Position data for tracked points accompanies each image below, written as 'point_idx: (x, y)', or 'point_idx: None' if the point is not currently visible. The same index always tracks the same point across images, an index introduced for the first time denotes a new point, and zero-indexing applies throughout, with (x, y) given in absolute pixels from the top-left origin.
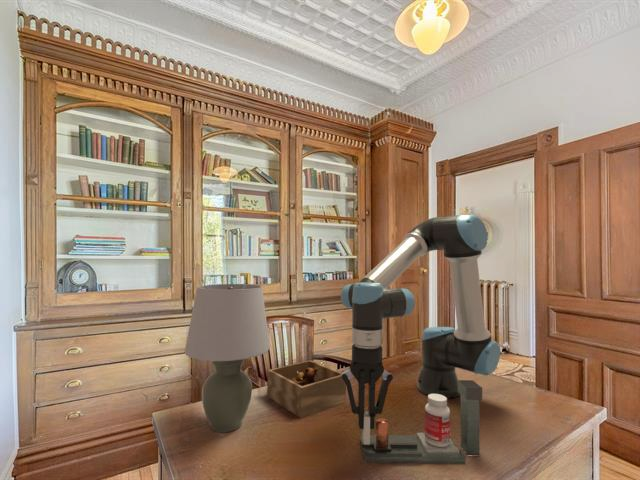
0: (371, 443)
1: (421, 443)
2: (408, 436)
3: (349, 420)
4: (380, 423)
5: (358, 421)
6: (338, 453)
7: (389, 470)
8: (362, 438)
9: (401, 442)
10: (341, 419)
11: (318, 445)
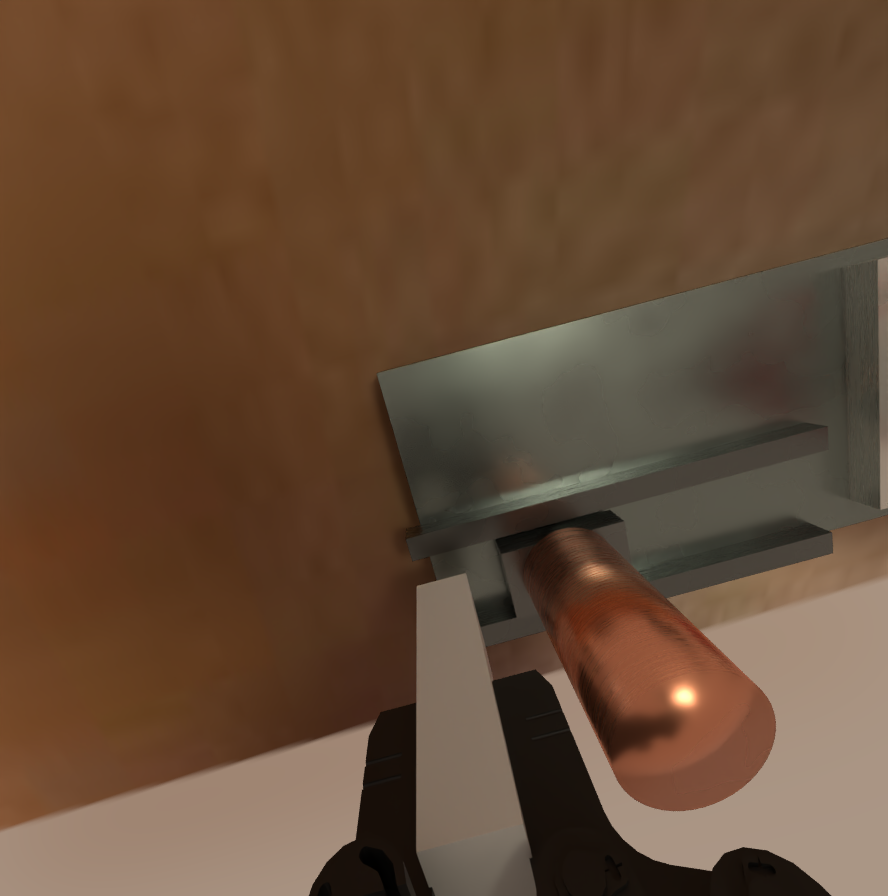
0: (484, 531)
1: (858, 392)
2: (774, 288)
3: (207, 10)
4: (665, 807)
5: (368, 783)
6: (262, 569)
7: None
8: (417, 586)
9: (703, 397)
10: (118, 7)
11: (93, 521)
